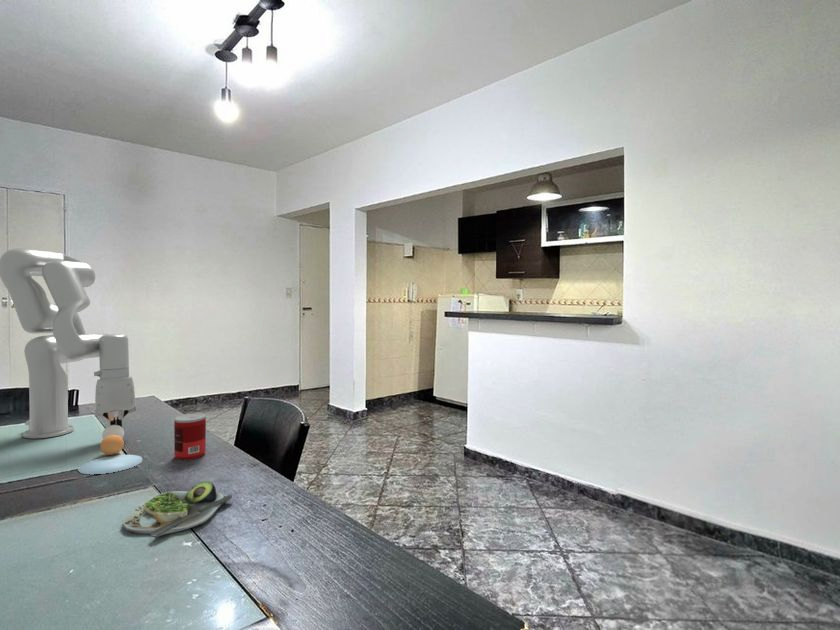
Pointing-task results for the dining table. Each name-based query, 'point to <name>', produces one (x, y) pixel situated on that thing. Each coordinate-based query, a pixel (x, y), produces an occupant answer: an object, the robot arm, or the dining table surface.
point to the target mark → (110, 464)
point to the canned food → (190, 436)
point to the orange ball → (111, 444)
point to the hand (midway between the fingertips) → (116, 432)
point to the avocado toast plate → (177, 510)
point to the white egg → (113, 431)
